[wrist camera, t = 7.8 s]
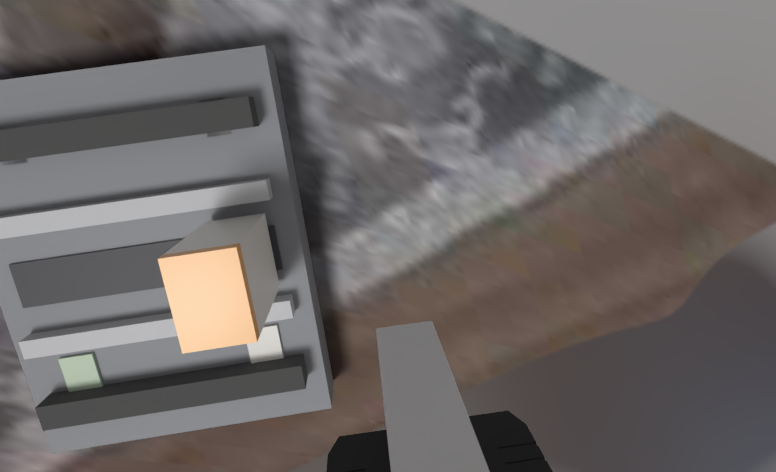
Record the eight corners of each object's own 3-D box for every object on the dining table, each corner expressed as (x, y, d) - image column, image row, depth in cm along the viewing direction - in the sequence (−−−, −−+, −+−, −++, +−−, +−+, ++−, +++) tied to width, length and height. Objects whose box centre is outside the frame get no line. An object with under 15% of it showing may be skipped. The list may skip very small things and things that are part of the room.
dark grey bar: (3, 130, 27) (-63, 134, 23) (262, 94, 27) (246, 91, 23) (14, 163, 27) (-49, 173, 23) (269, 128, 28) (254, 131, 24)
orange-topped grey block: (205, 221, 25) (157, 258, 19) (264, 213, 25) (236, 247, 19) (222, 294, 26) (182, 353, 20) (279, 286, 26) (257, 341, 20)
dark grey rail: (78, 363, 30) (33, 404, 26) (307, 327, 31) (300, 362, 27) (86, 389, 31) (44, 434, 27) (312, 353, 31) (306, 392, 27)
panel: (-30, 92, 26) (-95, 89, 22) (273, 52, 27) (261, 42, 23) (80, 421, 31) (41, 465, 27) (333, 381, 32) (331, 418, 28)
